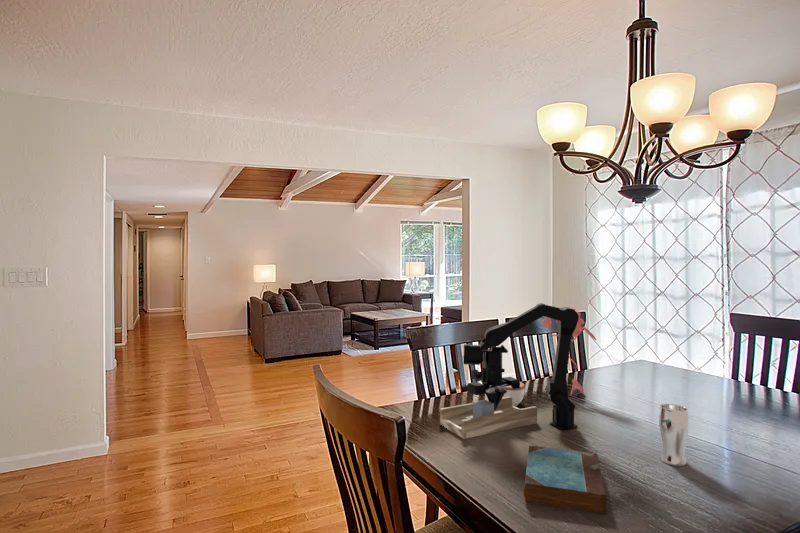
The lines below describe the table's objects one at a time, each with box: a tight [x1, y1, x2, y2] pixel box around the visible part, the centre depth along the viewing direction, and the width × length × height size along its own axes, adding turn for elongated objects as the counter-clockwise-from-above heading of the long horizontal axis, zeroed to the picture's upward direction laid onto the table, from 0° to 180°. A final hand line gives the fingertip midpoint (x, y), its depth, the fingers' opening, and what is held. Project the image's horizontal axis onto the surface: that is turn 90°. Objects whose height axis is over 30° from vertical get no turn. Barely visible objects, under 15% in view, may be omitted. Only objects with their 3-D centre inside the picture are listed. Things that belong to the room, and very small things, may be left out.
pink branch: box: [541, 307, 597, 399], centre depth 199 cm, size 15×26×35 cm, turn 38°
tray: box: [439, 396, 538, 440], centre depth 159 cm, size 14×30×6 cm, turn 117°
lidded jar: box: [502, 381, 526, 407], centre depth 181 cm, size 11×11×9 cm
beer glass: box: [658, 403, 689, 467], centre depth 129 cm, size 7×7×15 cm
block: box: [472, 399, 494, 417], centre depth 158 cm, size 5×5×5 cm
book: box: [523, 445, 608, 516], centre depth 116 cm, size 23×18×5 cm
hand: (493, 410), depth 160 cm, fingers closed
